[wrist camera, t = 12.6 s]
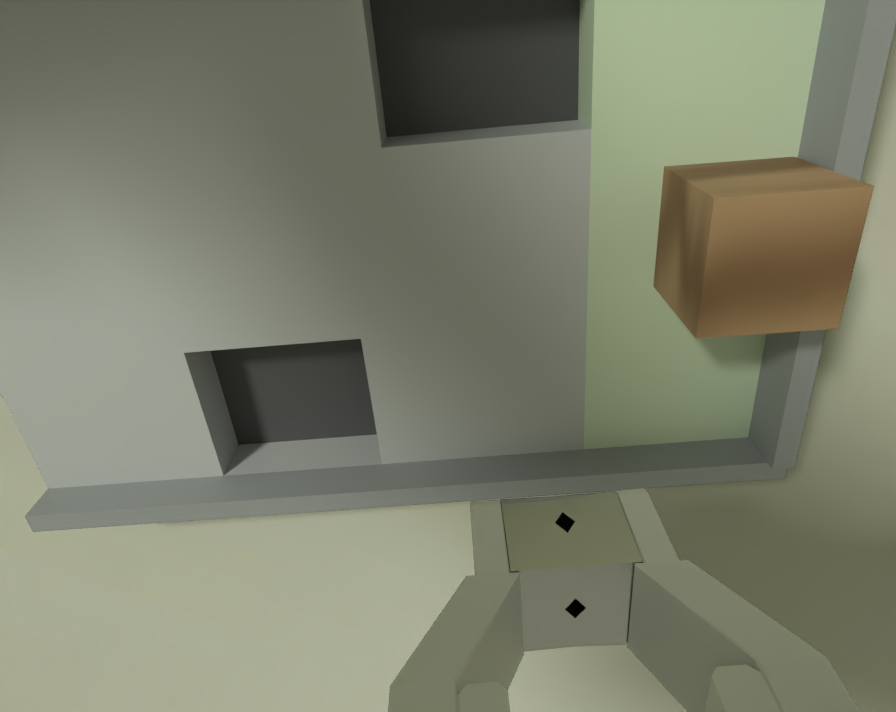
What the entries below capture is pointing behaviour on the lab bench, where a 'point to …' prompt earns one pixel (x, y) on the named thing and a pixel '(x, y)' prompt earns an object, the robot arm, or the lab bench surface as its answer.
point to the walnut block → (758, 245)
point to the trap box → (392, 245)
